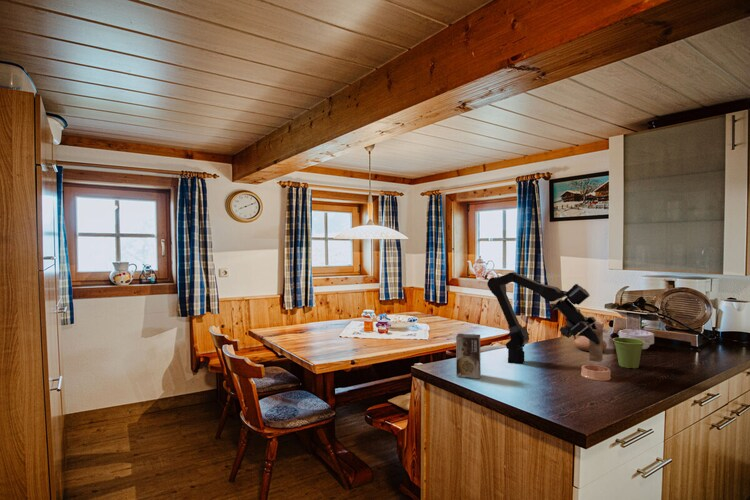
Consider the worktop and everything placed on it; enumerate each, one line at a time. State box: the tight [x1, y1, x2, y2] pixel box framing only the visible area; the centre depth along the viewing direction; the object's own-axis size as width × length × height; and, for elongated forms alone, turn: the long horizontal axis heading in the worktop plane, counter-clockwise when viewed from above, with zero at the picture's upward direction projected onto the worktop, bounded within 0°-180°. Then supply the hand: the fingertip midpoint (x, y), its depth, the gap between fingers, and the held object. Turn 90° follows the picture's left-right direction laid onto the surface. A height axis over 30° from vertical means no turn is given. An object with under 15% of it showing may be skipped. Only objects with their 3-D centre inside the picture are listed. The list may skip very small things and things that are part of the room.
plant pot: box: [612, 337, 645, 369], centre depth 178 cm, size 12×12×11 cm
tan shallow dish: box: [580, 364, 612, 382], centre depth 164 cm, size 10×10×3 cm
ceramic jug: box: [571, 320, 609, 352], centre depth 207 cm, size 18×14×14 cm
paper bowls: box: [618, 328, 655, 350], centre depth 212 cm, size 15×15×8 cm
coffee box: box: [455, 333, 482, 379], centre depth 165 cm, size 9×6×16 cm
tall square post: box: [588, 329, 604, 363], centre depth 164 cm, size 4×4×12 cm
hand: (599, 342), depth 163 cm, fingers closed on tall square post, 4 cm apart
